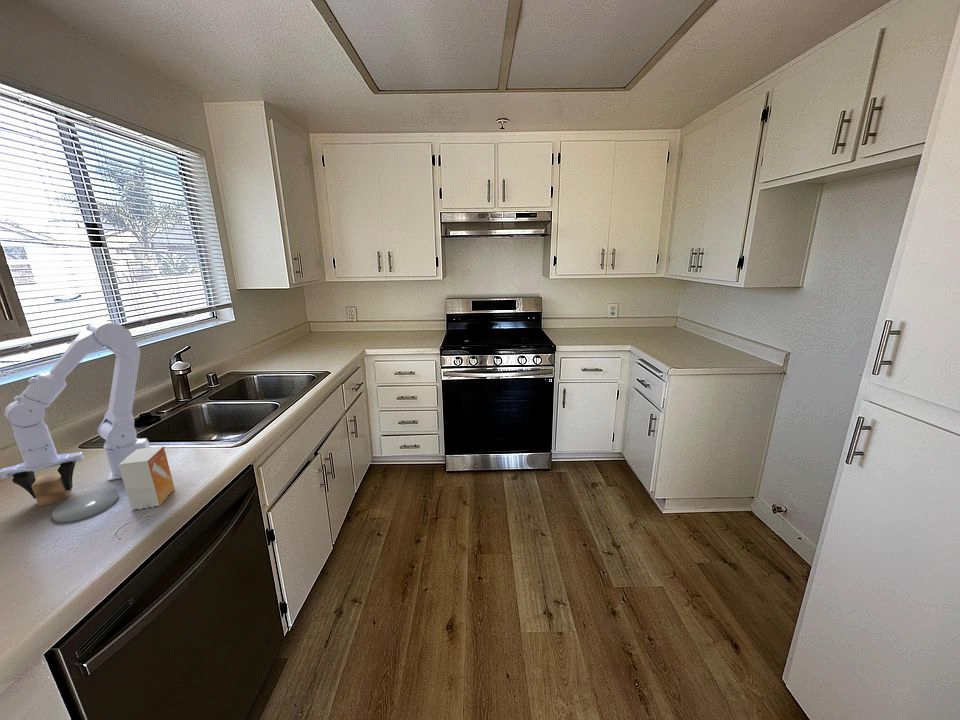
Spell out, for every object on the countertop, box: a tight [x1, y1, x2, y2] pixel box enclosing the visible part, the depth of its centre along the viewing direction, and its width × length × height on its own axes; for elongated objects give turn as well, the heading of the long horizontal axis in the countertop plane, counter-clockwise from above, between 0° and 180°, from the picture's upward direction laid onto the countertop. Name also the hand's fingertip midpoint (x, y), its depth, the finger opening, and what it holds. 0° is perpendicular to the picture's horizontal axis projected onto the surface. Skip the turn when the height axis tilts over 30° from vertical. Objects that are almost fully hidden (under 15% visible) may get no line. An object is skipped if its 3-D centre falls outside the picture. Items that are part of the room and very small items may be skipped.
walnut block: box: [31, 471, 73, 507], centre depth 103 cm, size 5×5×6 cm
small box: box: [118, 445, 175, 511], centre depth 100 cm, size 8×6×13 cm
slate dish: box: [51, 488, 120, 524], centre depth 99 cm, size 12×12×1 cm
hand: (53, 492), depth 103 cm, fingers open, 5 cm apart
